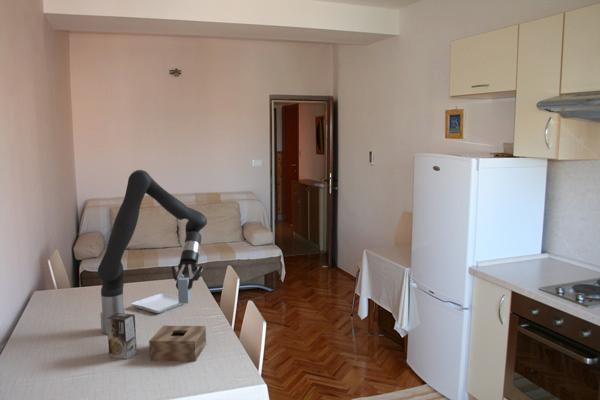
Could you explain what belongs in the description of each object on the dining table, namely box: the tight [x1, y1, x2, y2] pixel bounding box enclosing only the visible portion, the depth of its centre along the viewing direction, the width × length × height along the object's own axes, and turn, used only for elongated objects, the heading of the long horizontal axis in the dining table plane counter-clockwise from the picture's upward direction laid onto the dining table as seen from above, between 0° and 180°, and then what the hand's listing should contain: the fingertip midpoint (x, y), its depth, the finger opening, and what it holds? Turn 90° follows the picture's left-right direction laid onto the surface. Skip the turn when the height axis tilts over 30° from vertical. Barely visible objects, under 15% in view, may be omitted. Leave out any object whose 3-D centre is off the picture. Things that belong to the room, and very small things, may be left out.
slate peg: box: [177, 276, 192, 304], centre depth 204 cm, size 4×4×10 cm
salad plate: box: [130, 292, 185, 314], centre depth 254 cm, size 21×21×3 cm
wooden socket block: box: [148, 325, 207, 362], centre depth 196 cm, size 18×16×8 cm
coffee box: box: [106, 313, 138, 360], centre depth 194 cm, size 9×6×16 cm
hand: (183, 288), depth 203 cm, fingers closed on slate peg, 4 cm apart
